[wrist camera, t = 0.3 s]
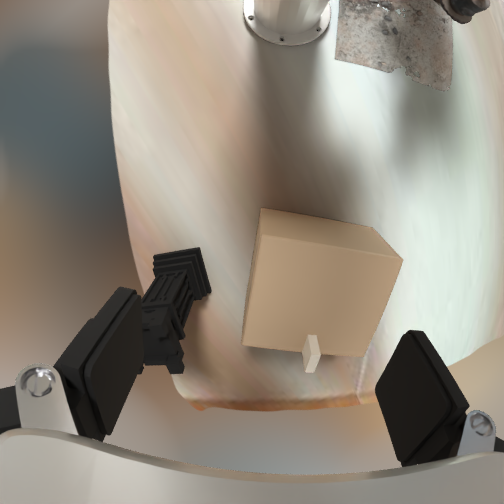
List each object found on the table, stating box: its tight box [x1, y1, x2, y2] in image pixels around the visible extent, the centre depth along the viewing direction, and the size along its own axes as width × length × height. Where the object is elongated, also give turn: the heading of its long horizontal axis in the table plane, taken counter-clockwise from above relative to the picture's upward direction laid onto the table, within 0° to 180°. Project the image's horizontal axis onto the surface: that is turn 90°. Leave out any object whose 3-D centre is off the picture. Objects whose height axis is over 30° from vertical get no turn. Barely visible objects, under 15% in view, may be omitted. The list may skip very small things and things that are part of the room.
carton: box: [241, 208, 401, 345], centre depth 43 cm, size 16×18×12 cm
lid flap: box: [243, 234, 403, 373], centre depth 35 cm, size 16×18×5 cm
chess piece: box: [138, 247, 212, 374], centre depth 41 cm, size 8×8×20 cm
